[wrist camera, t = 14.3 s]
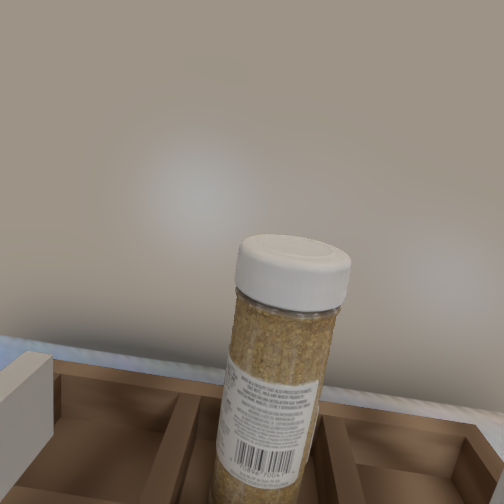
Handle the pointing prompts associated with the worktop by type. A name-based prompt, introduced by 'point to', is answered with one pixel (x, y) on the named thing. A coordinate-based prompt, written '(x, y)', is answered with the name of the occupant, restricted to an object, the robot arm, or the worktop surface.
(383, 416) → the wooden compartment tray
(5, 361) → the worktop surface
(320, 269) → the spice bottle
